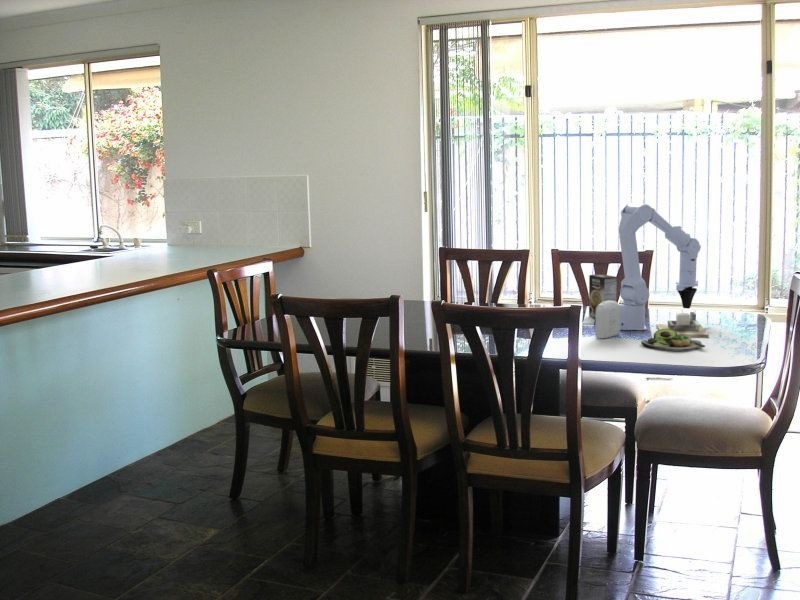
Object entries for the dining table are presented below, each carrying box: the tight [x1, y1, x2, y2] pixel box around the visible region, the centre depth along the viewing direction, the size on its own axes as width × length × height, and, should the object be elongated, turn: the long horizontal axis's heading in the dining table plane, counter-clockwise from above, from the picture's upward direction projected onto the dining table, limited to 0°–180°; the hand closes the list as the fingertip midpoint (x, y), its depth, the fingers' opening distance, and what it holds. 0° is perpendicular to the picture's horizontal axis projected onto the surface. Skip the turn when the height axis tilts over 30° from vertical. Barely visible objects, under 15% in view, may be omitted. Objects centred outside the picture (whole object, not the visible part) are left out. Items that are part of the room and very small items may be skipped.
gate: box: [689, 311, 700, 331], centre depth 303 cm, size 1×14×4 cm, turn 170°
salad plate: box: [641, 329, 706, 352], centre depth 279 cm, size 19×18×5 cm
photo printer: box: [594, 300, 620, 340], centre depth 296 cm, size 10×4×12 cm, turn 134°
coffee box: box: [588, 273, 618, 319], centre depth 332 cm, size 9×6×16 cm
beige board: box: [655, 319, 710, 338], centre depth 307 cm, size 15×30×3 cm, turn 170°
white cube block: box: [675, 312, 690, 325], centre depth 302 cm, size 4×4×5 cm
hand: (686, 308), depth 316 cm, fingers closed
